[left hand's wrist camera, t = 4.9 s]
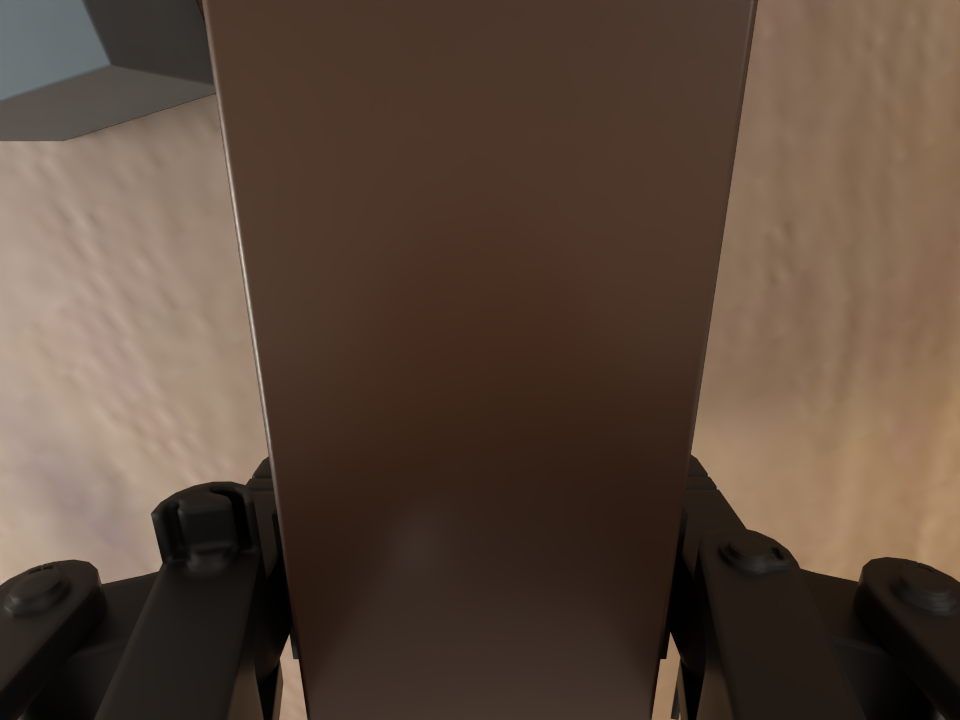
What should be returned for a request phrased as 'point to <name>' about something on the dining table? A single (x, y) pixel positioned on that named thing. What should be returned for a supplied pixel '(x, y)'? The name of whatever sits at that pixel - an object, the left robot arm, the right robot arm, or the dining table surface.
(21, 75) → the block
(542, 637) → the bar
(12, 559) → the dining table surface
